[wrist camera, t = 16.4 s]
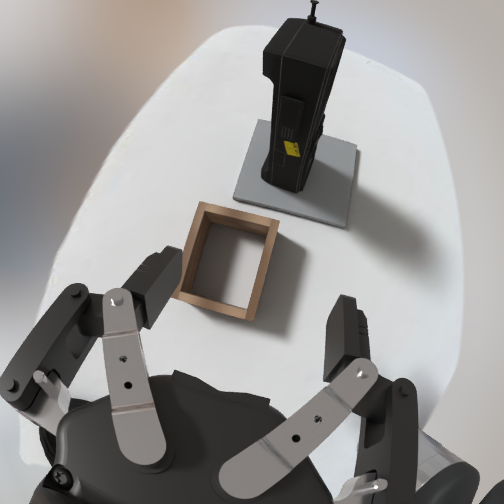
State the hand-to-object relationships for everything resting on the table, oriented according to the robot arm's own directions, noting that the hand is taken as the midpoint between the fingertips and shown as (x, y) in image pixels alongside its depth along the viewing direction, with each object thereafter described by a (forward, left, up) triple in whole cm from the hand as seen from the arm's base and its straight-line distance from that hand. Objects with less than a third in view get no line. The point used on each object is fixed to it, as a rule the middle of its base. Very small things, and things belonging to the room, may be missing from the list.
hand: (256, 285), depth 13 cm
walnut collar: (+5, -3, -22) cm, 23 cm away
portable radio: (0, -18, -22) cm, 28 cm away
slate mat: (-1, -19, -22) cm, 29 cm away
